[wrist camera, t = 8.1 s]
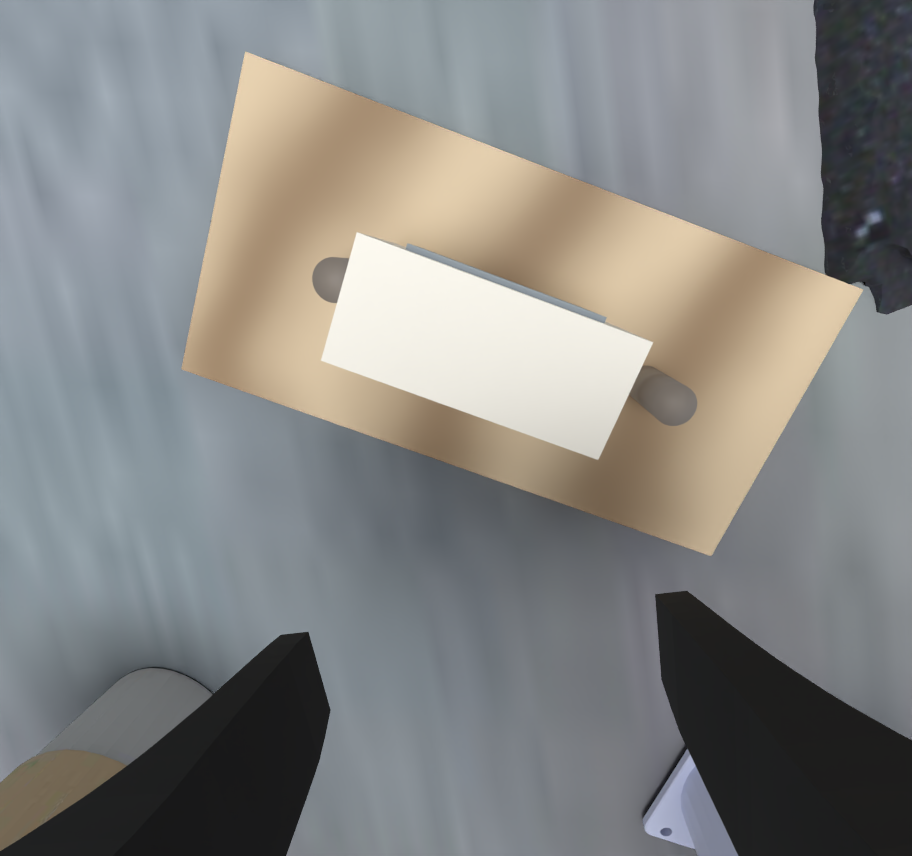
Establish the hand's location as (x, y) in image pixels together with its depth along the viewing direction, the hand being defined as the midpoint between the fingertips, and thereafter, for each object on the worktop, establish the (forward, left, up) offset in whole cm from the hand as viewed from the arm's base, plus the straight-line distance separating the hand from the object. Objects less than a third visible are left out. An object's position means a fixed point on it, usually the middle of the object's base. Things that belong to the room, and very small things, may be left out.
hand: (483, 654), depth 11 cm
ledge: (+1, -6, -10) cm, 11 cm away
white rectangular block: (+2, -5, -9) cm, 10 cm away
